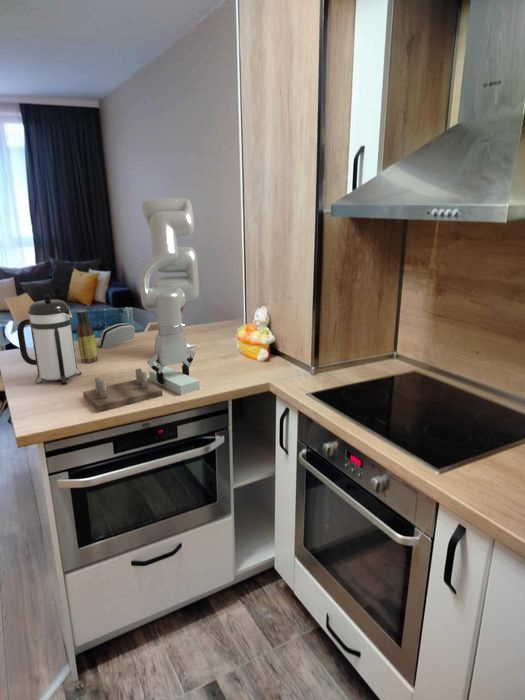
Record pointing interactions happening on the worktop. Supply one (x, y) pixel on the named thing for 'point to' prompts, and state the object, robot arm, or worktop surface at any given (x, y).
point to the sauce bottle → (86, 338)
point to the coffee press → (50, 340)
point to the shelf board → (176, 381)
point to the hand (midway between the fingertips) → (173, 380)
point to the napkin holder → (116, 335)
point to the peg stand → (121, 392)
